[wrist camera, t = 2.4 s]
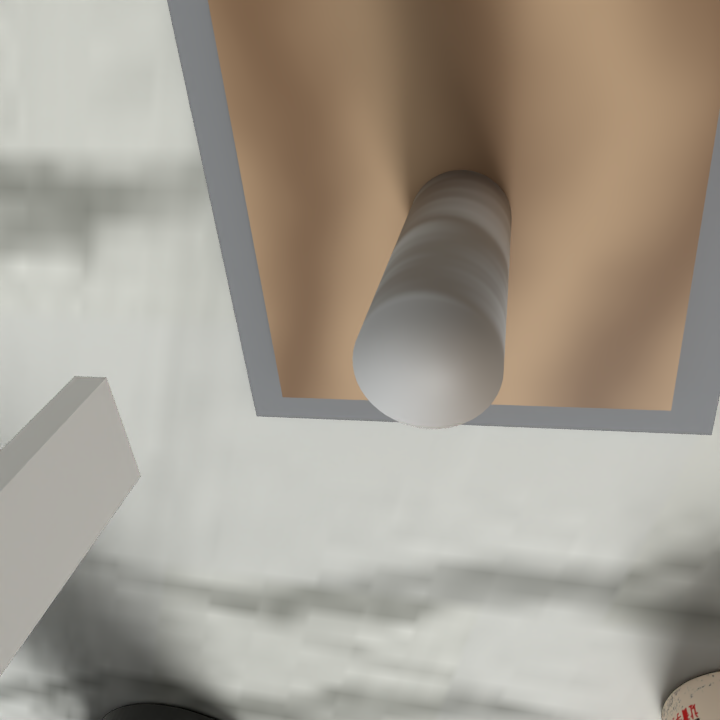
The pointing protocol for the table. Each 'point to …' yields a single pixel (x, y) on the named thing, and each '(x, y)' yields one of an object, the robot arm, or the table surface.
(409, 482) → the table surface
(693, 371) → the rubber mat
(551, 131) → the lid board
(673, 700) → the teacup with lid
